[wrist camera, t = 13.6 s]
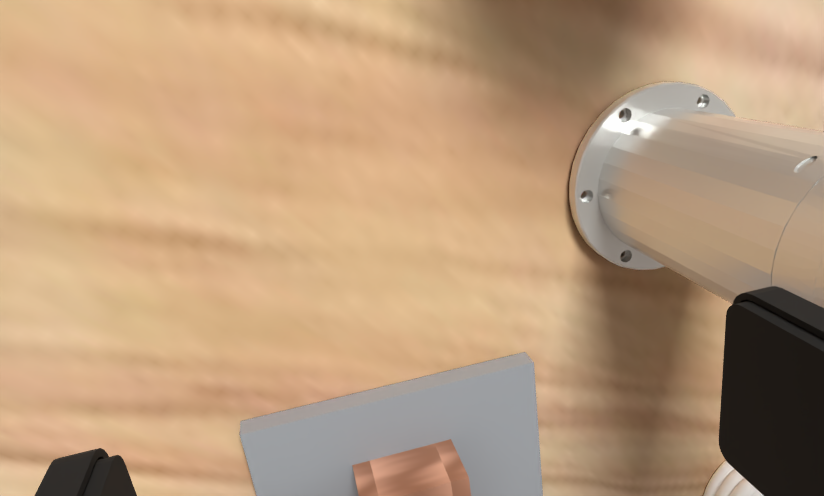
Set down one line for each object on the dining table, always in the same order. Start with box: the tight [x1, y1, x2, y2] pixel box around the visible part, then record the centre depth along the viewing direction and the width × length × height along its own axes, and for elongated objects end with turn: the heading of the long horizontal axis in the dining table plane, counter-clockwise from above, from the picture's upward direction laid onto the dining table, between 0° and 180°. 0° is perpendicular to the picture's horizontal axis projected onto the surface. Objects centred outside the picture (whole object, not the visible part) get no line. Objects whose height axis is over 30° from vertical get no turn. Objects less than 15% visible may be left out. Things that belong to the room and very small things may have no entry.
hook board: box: [240, 352, 543, 496], centre depth 44 cm, size 20×16×2 cm
